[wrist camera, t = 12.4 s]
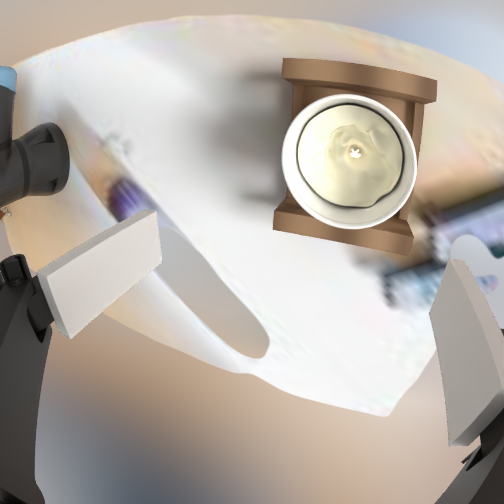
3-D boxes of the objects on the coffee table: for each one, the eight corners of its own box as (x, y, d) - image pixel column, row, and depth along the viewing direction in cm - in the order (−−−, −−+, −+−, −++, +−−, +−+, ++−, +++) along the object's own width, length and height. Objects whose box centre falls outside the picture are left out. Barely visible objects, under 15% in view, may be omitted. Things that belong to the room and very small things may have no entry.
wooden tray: (288, 209, 36) (272, 229, 30) (298, 70, 28) (282, 58, 22) (400, 230, 31) (408, 256, 26) (421, 88, 24) (437, 80, 18)
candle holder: (413, 159, 27) (442, 181, 17) (345, 209, 32) (337, 253, 22) (356, 87, 26) (354, 66, 16) (290, 141, 31) (254, 153, 21)
